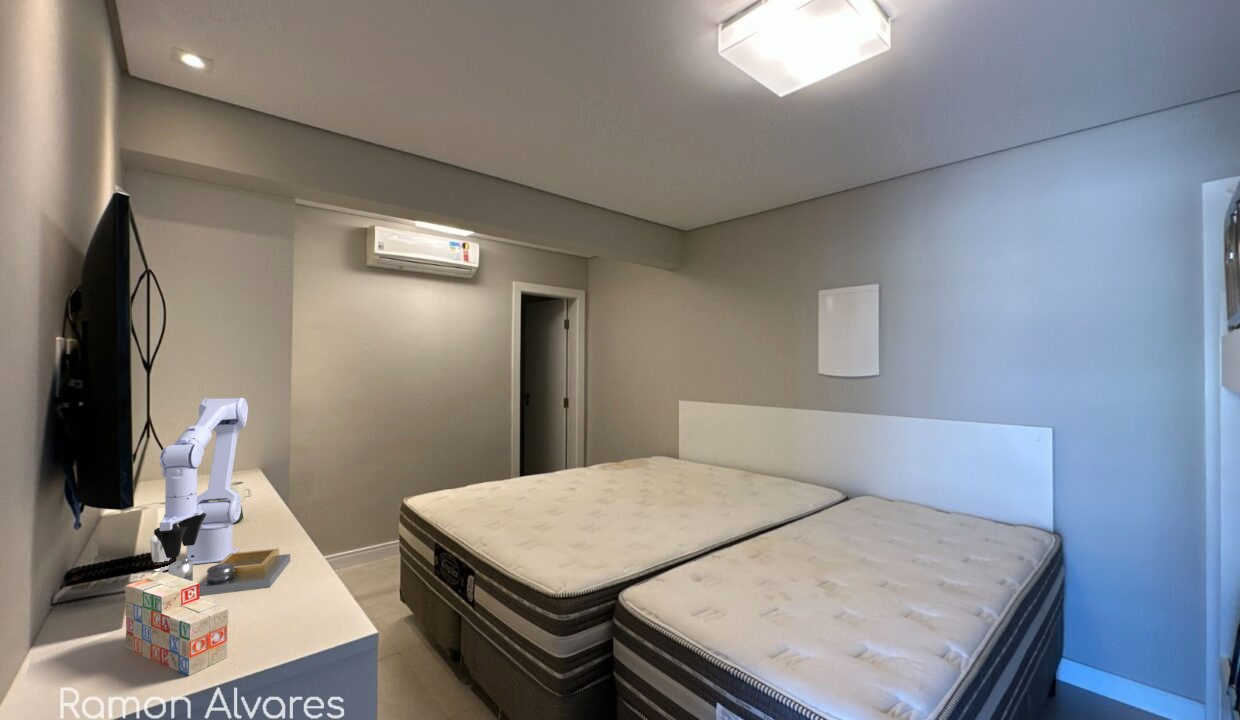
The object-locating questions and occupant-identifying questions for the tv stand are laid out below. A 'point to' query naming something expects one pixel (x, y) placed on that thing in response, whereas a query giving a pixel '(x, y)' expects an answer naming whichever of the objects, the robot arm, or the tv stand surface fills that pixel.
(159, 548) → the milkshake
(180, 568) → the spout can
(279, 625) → the tv stand surface
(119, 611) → the tv stand surface
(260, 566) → the grey piece
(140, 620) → the stack of blocks
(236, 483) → the character mug
